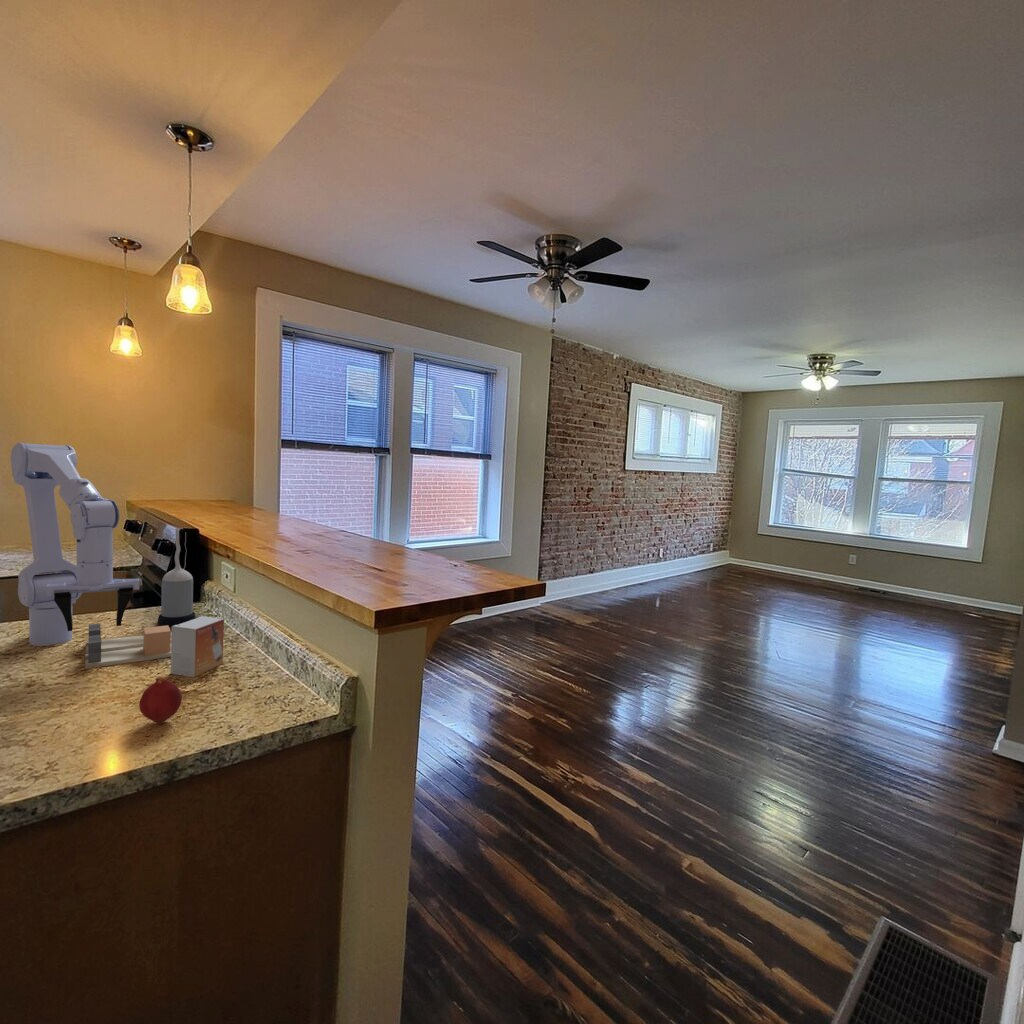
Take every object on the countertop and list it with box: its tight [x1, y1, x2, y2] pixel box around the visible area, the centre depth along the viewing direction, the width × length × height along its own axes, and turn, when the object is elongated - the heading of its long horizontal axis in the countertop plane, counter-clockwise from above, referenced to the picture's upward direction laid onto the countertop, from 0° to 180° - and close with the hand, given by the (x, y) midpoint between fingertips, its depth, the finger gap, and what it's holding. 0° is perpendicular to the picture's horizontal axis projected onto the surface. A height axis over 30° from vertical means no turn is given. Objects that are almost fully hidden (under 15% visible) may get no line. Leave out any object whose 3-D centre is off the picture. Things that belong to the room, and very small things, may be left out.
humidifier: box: [156, 528, 197, 629], centre depth 134 cm, size 8×8×25 cm
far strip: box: [84, 622, 172, 655], centre depth 119 cm, size 6×16×5 cm, turn 128°
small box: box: [170, 615, 225, 678], centre depth 108 cm, size 8×6×10 cm
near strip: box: [84, 635, 171, 669], centre depth 112 cm, size 6×16×5 cm, turn 128°
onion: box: [138, 676, 183, 725], centre depth 88 cm, size 6×6×8 cm
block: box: [142, 625, 172, 655], centre depth 114 cm, size 4×4×4 cm
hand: (94, 627), depth 107 cm, fingers open, 7 cm apart
